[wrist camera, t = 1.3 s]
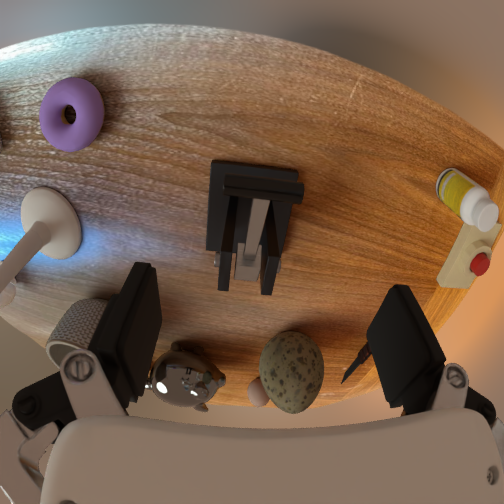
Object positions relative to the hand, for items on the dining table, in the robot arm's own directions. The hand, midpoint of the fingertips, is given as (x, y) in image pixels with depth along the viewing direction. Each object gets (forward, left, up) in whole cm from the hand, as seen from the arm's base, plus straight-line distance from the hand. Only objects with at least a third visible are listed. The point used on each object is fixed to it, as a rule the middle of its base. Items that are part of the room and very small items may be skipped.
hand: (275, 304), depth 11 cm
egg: (+48, +7, -25) cm, 55 cm away
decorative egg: (+32, +10, -25) cm, 42 cm away
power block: (+9, +38, -25) cm, 46 cm away
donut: (-4, -23, -25) cm, 34 cm away
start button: (+9, +38, -21) cm, 44 cm away
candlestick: (+13, -31, -25) cm, 42 cm away
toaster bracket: (+8, 0, -25) cm, 26 cm away
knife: (+37, +26, -25) cm, 52 cm away
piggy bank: (+40, -8, -25) cm, 48 cm away
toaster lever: (+3, 0, -13) cm, 13 cm away
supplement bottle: (-1, +27, -25) cm, 37 cm away
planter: (+31, -24, -25) cm, 47 cm away
